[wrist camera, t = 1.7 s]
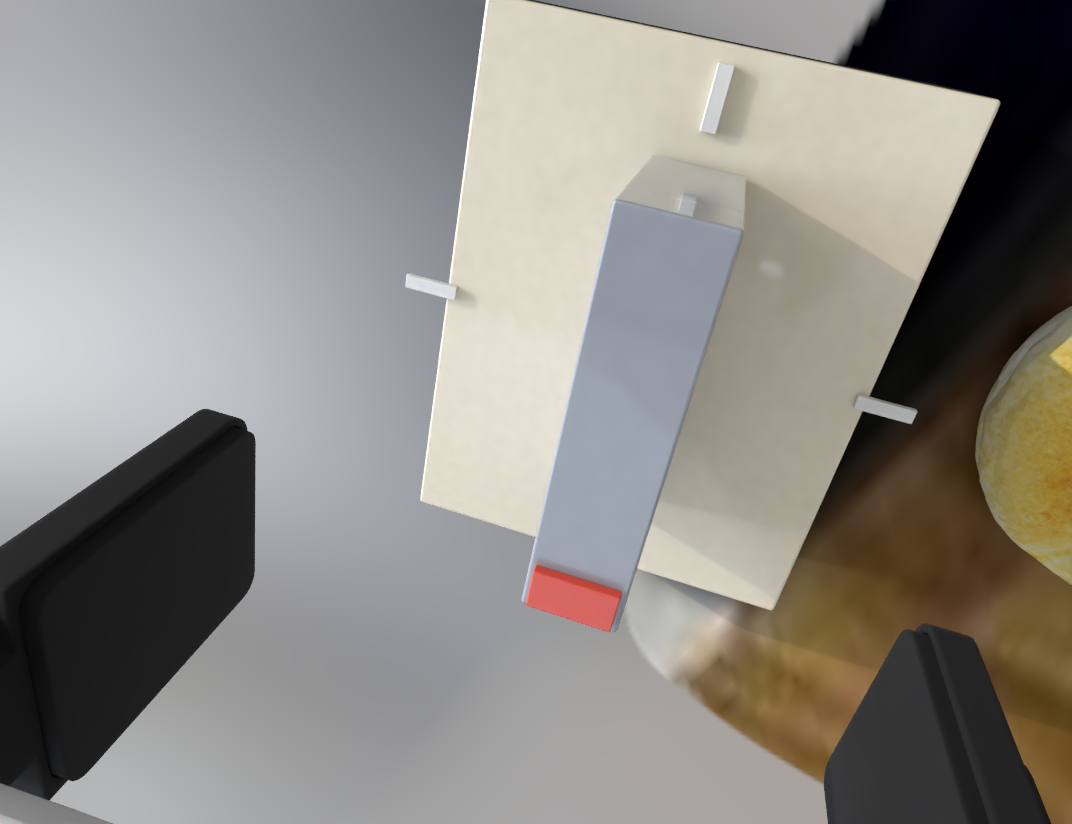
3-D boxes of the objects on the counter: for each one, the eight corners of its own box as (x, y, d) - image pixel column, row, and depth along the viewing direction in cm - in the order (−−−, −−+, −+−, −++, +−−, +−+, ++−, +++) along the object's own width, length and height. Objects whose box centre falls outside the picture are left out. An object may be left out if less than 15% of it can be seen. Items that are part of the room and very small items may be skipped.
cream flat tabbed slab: (481, -12, 19) (436, -19, 17) (1015, 101, 18) (1063, 113, 15) (422, 446, 26) (383, 494, 23) (805, 561, 24) (811, 628, 22)
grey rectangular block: (651, 153, 17) (610, 200, 12) (747, 175, 17) (745, 233, 12) (571, 477, 21) (517, 610, 17) (646, 500, 21) (614, 642, 16)
